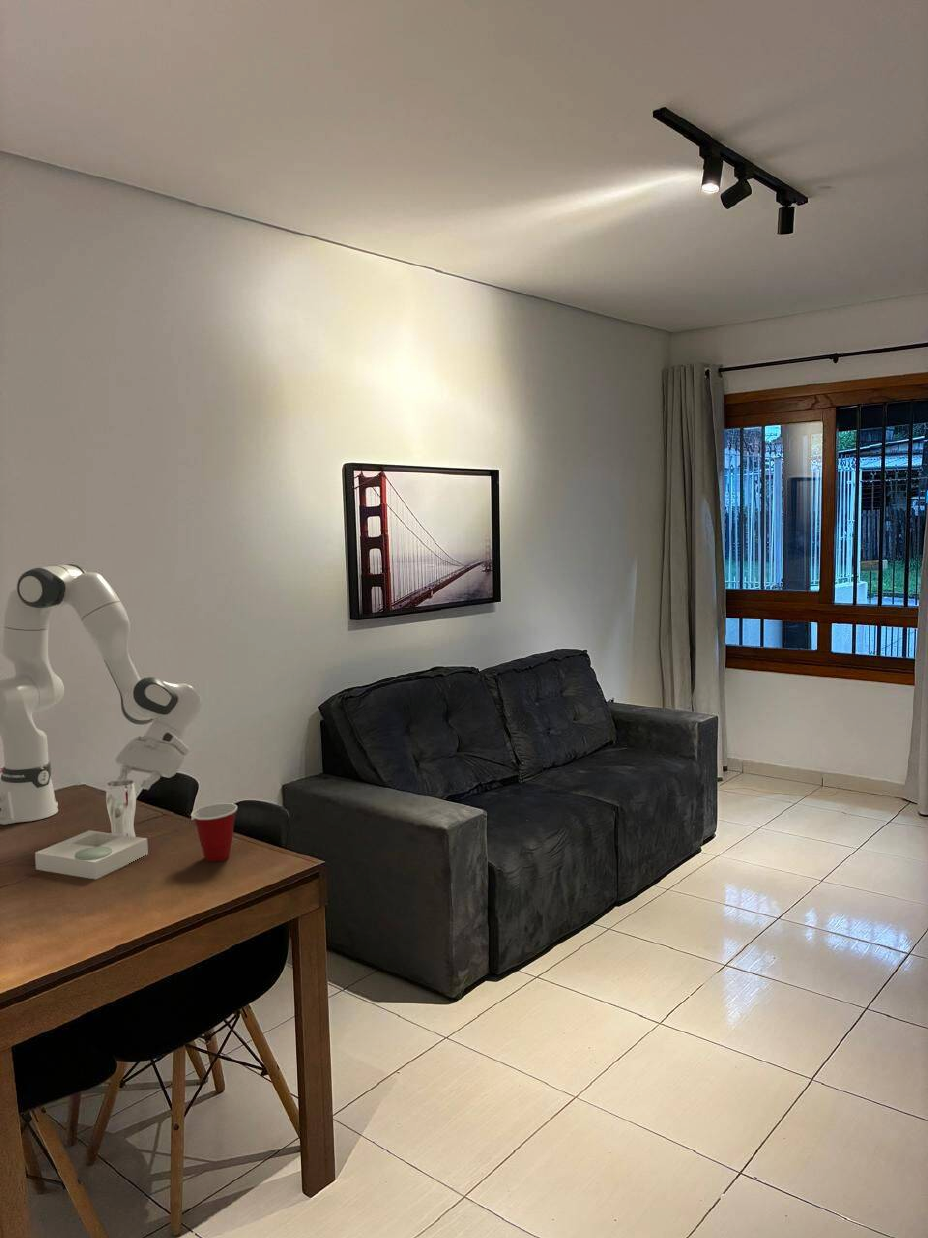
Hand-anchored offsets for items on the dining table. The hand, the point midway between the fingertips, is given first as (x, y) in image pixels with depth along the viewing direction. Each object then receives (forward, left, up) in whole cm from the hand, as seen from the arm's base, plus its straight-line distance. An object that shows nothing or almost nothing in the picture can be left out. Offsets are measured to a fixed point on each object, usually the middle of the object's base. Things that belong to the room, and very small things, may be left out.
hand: (132, 785), depth 237 cm
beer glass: (-1, -3, -14) cm, 14 cm away
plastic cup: (+29, -5, -14) cm, 33 cm away
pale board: (+3, -18, -13) cm, 23 cm away
